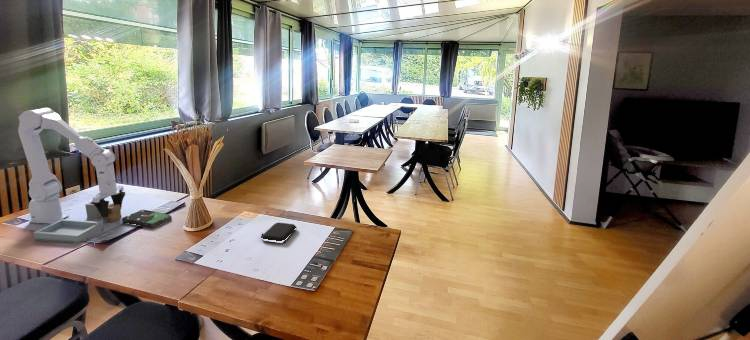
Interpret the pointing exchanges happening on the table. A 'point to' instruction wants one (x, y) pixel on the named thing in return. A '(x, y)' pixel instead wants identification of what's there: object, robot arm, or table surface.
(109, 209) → the walnut block
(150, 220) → the disk drive
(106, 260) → the table surface
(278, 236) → the carrying case or bag
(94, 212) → the grey button block
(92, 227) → the tray
